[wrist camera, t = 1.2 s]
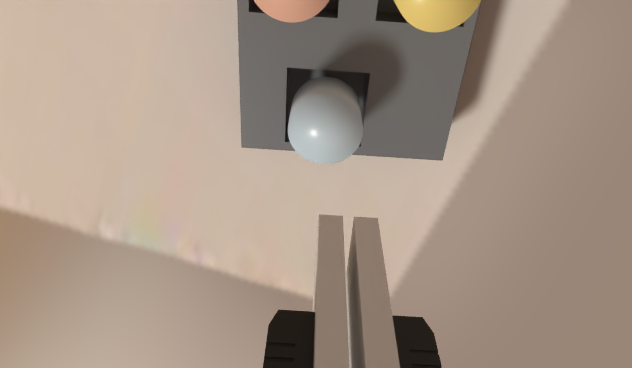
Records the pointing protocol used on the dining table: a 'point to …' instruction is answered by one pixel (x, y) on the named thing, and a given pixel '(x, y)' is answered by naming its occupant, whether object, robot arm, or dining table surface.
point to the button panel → (353, 74)
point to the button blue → (325, 121)
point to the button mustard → (436, 13)
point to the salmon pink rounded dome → (291, 9)
